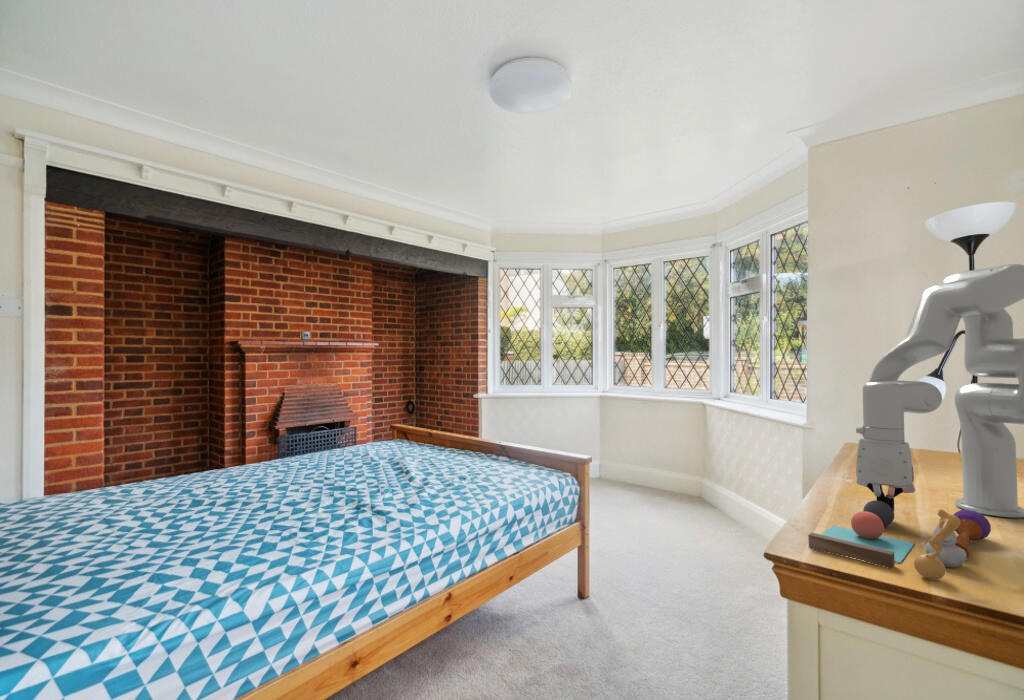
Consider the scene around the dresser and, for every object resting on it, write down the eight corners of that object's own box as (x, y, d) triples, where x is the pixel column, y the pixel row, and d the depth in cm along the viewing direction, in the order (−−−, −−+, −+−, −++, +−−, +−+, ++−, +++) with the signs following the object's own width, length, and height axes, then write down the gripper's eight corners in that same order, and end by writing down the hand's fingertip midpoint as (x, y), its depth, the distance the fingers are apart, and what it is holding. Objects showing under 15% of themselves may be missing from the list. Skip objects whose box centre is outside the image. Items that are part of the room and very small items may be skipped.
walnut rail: (812, 545, 94) (811, 532, 94) (894, 565, 84) (894, 551, 84) (808, 547, 92) (808, 534, 93) (892, 569, 83) (891, 554, 83)
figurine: (922, 568, 83) (920, 500, 83) (969, 581, 78) (966, 508, 79) (906, 580, 78) (904, 508, 79) (955, 595, 73) (953, 517, 74)
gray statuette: (922, 564, 85) (921, 519, 85) (930, 555, 89) (928, 512, 89) (963, 574, 81) (962, 527, 81) (969, 564, 85) (968, 519, 85)
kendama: (931, 533, 90) (949, 505, 102) (940, 565, 89) (958, 533, 102) (973, 536, 85) (987, 507, 98) (983, 570, 84) (996, 536, 97)
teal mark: (832, 526, 105) (832, 525, 105) (914, 544, 94) (914, 543, 94) (812, 541, 95) (812, 540, 95) (900, 563, 85) (900, 562, 85)
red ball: (851, 503, 100) (846, 524, 97) (883, 509, 96) (879, 531, 93) (856, 519, 102) (851, 540, 99) (888, 526, 98) (883, 548, 95)
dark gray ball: (860, 496, 106) (859, 521, 105) (891, 501, 102) (890, 527, 101) (867, 499, 110) (866, 524, 108) (897, 504, 105) (897, 530, 104)
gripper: (841, 432, 113) (842, 510, 112) (923, 440, 101) (925, 526, 101) (849, 430, 117) (851, 503, 117) (928, 436, 106) (931, 518, 106)
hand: (885, 513), depth 109 cm, fingers closed
